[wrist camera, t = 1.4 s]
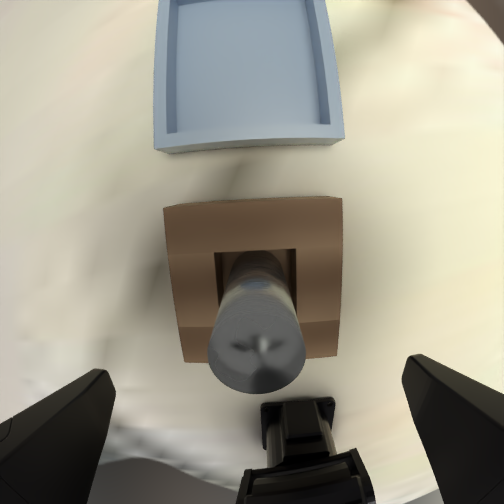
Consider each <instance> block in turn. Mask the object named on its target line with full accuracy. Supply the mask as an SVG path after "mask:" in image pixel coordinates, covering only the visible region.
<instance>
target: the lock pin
mask: <svg viewBox="0 0 504 504" xmlns="http://www.w3.org/2000/svg"><path fill="white" fill-rule="evenodd" d="M207 357H208V362H209V365H210V368H211V370H212V371H213V373H214V374H215V376H216V377H217V378H218V379H219V380H220V381H221V382H222V383H224V384H225V385H226V386H228V387H230V388H232V389H234V390H237V391H240V392H243V393H249V394H265V393H270V392H274V391H277V390H279V389H281V388H283V387H285V386H287V385H288V384H290V383H291V382H292V381H293V380H294V379H295V378H296V377H297V376H298V375H299V373H300V372H301V370H302V368H303V366H304V363H305V359H306V348H305V343H304V340H303V336H302V333H301V329H300V326H299V323H298V319H297V316H296V312H295V309H294V305H293V302H292V299H291V295H290V292H289V289H288V285H287V282H286V279H285V275H284V272H283V269H282V266H281V263H280V262H279V260H278V259H277V258H276V257H275V256H274V255H273V254H272V253H270V252H268V251H265V250H255V251H246V252H244V253H242V254H241V255H240V256H238V257H237V259H236V260H235V261H234V263H233V265H232V268H231V271H230V275H229V278H228V281H227V284H226V288H225V291H224V294H223V298H222V301H221V304H220V308H219V311H218V314H217V318H216V321H215V324H214V328H213V331H212V334H211V338H210V341H209V345H208V350H207Z"/></svg>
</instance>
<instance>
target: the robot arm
mask: <svg viewBox="0 0 504 504" xmlns="http://www.w3.org/2000/svg"><path fill="white" fill-rule="evenodd" d="M402 385H403V388H404V391H405V394H406V398H407V401H408V404H409V408H410V411H411V415H412V418H413V421H414V424H415V426H416V429H417V431H418V434H419V436H420V439H421V441H422V444H423V446H424V449H425V451H426V454H427V457H428V459H429V462H430V465H431V467H432V470H433V473H434V475H435V478H436V481H437V484H438V487H439V490H440V493H441V496H442V499H443V501H444V504H504V394H502V393H500V392H498V391H496V390H494V389H492V388H490V387H488V386H486V385H483V384H481V383H479V382H477V381H475V380H473V379H471V378H469V377H467V376H465V375H463V374H461V373H459V372H457V371H455V370H453V369H451V368H449V367H447V366H445V365H443V364H441V363H438V362H436V361H434V360H432V359H430V358H428V357H426V356H424V355H422V354H416V355H411V356H409V357H408V358H407V361H406V364H405V368H404V371H403V374H402ZM115 397H116V391H115V387H114V385H113V383H112V380H111V378H110V375H109V373H108V372H107V371H106V370H104V369H93V370H91V371H89V372H88V373H86V374H84V375H83V376H81V377H79V378H78V379H76V380H74V381H73V382H71V383H69V384H68V385H66V386H64V387H63V388H61V389H59V390H58V391H56V392H54V393H52V394H51V395H49V396H47V397H46V398H44V399H42V400H41V401H39V402H37V403H35V404H34V405H32V406H30V407H29V408H27V409H25V410H23V411H22V412H20V413H18V414H16V415H15V416H13V418H12V417H11V418H9V419H8V420H6V421H4V422H2V423H1V424H0V504H87V501H88V497H89V494H90V490H91V486H92V482H93V479H94V476H95V473H96V469H97V466H98V463H99V459H100V456H101V453H102V450H103V447H104V443H105V440H106V437H107V433H108V429H109V424H110V419H111V415H112V410H113V406H114V401H115ZM328 403H330V404H328ZM265 408H268V409H265ZM334 411H335V400H334V399H333V398H324V399H315V400H305V401H293V402H279V403H265V404H262V405H261V424H262V442H263V449H264V450H267V468H263V469H255V470H252V469H245V471H244V476H243V477H242V480H241V484H240V488H239V492H238V496H237V501H236V504H376V500H375V495H374V490H373V486H372V483H371V480H370V477H369V475H368V473H367V470H366V468H365V466H364V464H363V462H362V459H361V457H360V455H359V453H358V451H357V449H356V448H354V449H351V450H349V451H347V452H344V453H340V454H337V452H336V449H335V445H334V441H333V437H332V434H331V429H332V423H333V417H334Z"/></svg>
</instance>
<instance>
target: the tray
mask: <svg viewBox="0 0 504 504" xmlns="http://www.w3.org/2000/svg"><path fill="white" fill-rule="evenodd" d="M153 117H154V149H155V150H158V151H161V152H164V153H167V154H174V153H182V152H191V151H200V150H211V149H222V148H236V147H252V146H274V145H333V144H335V143H337V142H339V141H341V140H343V139H345V133H344V122H343V111H342V102H341V93H340V85H339V77H338V70H337V63H336V57H335V50H334V44H333V39H332V33H331V28H330V23H329V18H328V13H327V8H326V3H325V0H159V4H158V14H157V26H156V40H155V59H154V96H153Z"/></svg>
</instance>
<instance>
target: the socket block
mask: <svg viewBox="0 0 504 504" xmlns="http://www.w3.org/2000/svg"><path fill="white" fill-rule="evenodd" d="M163 212H164V223H165V234H166V243H167V252H168V261H169V269H170V277H171V284H172V291H173V298H174V305H175V311H176V317H177V323H178V329H179V335H180V341H181V346H182V351H183V357H184V362H188V363H209V362H208V357H207V350H208V345H209V341H210V338H211V334H212V331H213V328H214V324H215V321H216V318H217V314H218V311H219V308H220V304H221V301H222V298H223V294H224V291H225V288H226V284H227V281H228V278H229V275H230V271H231V268H232V265H233V263H234V261H235V260H236V259H237V257H238V256H240V255H241V254H242V253H244V252H246V251H255V250H265V251H268V252H270V253H272V254H273V255H274V256H275V257H276V258H277V259H278V260H279V262H280V263H281V266H282V269H283V272H284V275H285V279H286V282H287V285H288V289H289V292H290V295H291V299H292V302H293V305H294V309H295V312H296V316H297V319H298V323H299V326H300V329H301V333H302V336H303V340H304V343H305V348H306V359H311V358H322V357H331V356H337V349H338V337H339V324H340V309H341V289H342V255H343V211H342V198H335V197H329V196H317V197H285V198H262V199H243V200H226V201H212V202H198V203H186V204H177V205H173V206H169V207H165V208H163Z"/></svg>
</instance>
